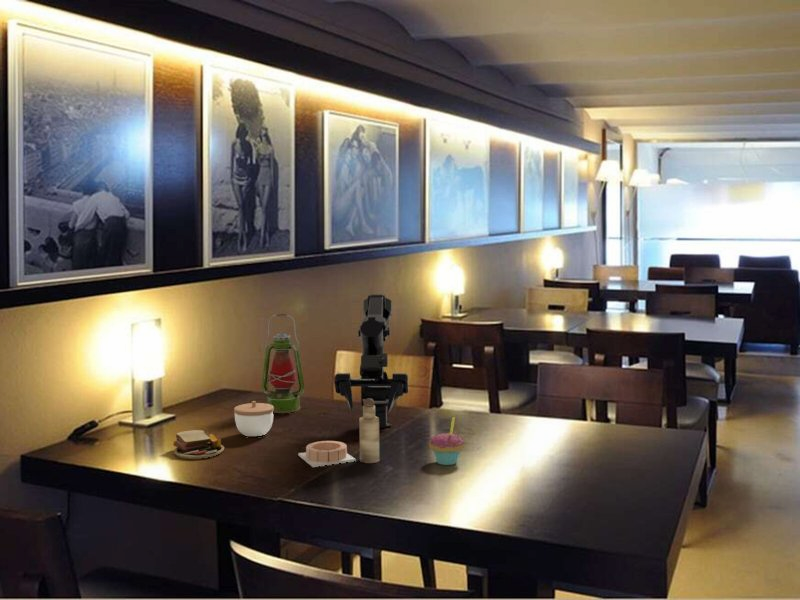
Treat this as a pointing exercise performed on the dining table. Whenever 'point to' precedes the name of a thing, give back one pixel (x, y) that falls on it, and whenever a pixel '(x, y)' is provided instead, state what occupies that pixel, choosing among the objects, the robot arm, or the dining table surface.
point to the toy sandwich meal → (197, 445)
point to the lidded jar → (254, 418)
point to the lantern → (282, 373)
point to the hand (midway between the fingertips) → (370, 411)
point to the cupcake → (446, 446)
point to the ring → (326, 453)
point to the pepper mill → (369, 433)
